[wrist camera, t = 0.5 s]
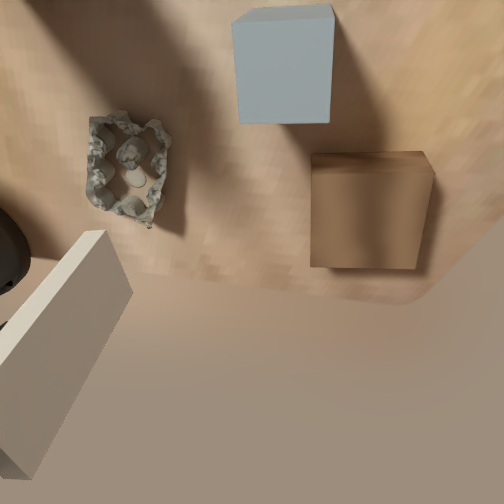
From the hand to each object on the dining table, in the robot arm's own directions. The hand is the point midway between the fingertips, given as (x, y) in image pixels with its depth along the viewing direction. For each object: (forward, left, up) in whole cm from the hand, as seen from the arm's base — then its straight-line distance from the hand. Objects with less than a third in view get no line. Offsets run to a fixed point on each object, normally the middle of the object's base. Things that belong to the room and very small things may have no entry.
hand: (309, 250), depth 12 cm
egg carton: (-18, -8, -27) cm, 33 cm away
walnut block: (+5, -12, -27) cm, 30 cm away
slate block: (-2, +2, -26) cm, 27 cm away
